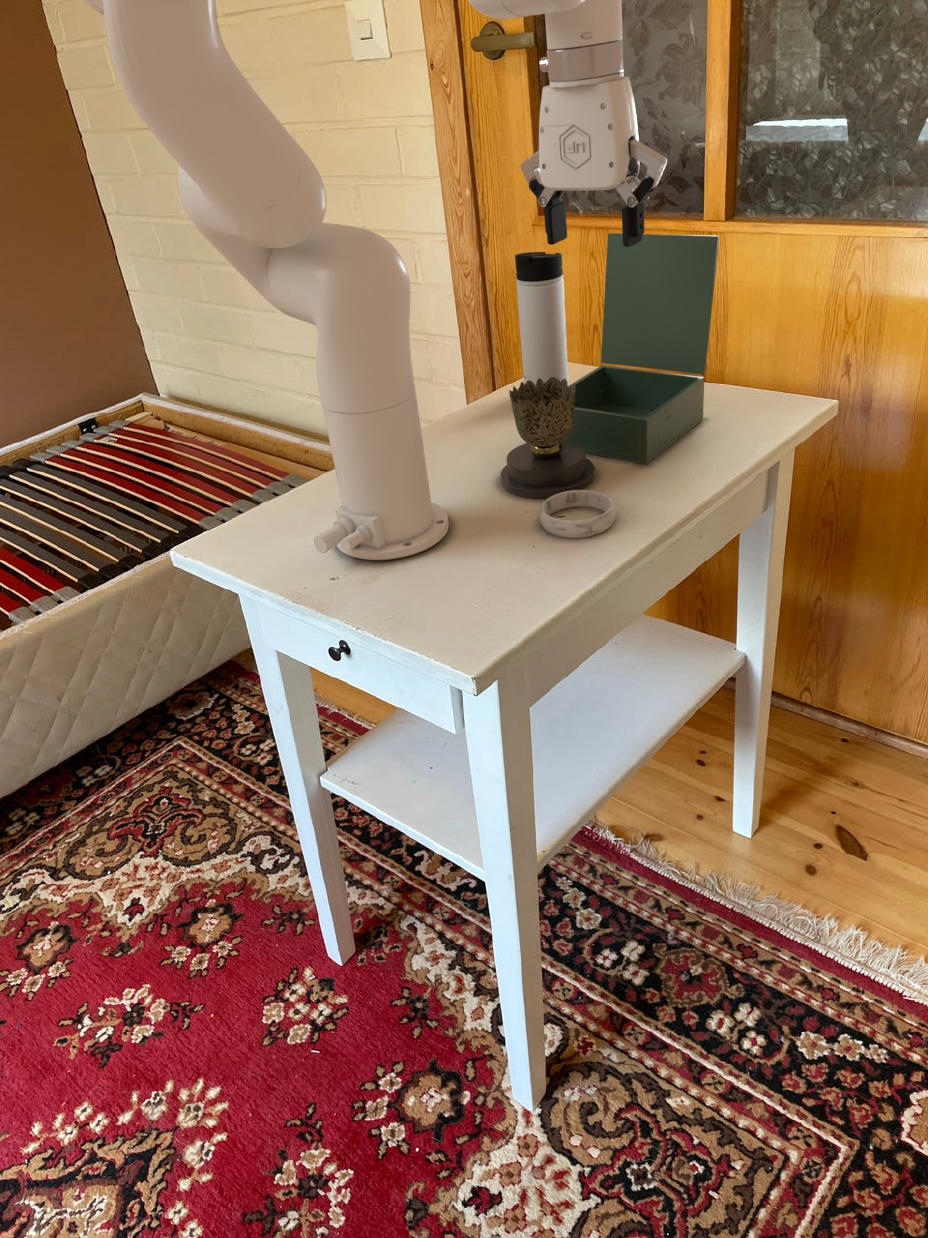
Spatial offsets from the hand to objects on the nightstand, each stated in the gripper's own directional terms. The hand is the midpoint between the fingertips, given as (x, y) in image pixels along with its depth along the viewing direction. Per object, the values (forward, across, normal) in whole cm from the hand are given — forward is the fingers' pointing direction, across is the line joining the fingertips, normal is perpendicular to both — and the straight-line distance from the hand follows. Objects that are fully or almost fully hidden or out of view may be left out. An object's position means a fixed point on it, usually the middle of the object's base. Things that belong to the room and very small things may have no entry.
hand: (594, 242), depth 104 cm
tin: (+24, +1, +4) cm, 24 cm away
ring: (+24, +8, -20) cm, 32 cm away
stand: (+24, -1, -12) cm, 26 cm away
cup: (+21, -1, -12) cm, 24 cm away
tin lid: (+10, +1, +13) cm, 16 cm away
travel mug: (+24, -16, +11) cm, 31 cm away
